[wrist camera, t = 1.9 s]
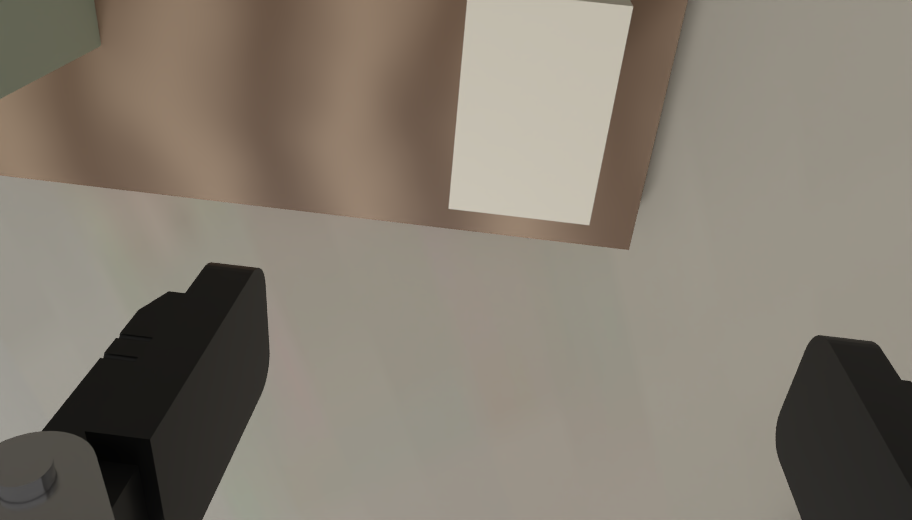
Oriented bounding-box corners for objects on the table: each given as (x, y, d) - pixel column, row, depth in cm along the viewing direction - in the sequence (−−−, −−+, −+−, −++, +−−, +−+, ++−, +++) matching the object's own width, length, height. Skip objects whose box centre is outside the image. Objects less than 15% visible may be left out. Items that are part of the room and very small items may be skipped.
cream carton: (581, 125, 28) (596, 226, 21) (469, 113, 28) (448, 208, 21) (611, -45, 25) (641, 7, 18) (486, -59, 25) (467, -12, 18)
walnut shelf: (726, -224, 24) (755, -230, 21) (623, 226, 32) (633, 270, 29) (-126, -306, 25) (-220, -324, 22) (-10, 152, 33) (-66, 186, 30)
